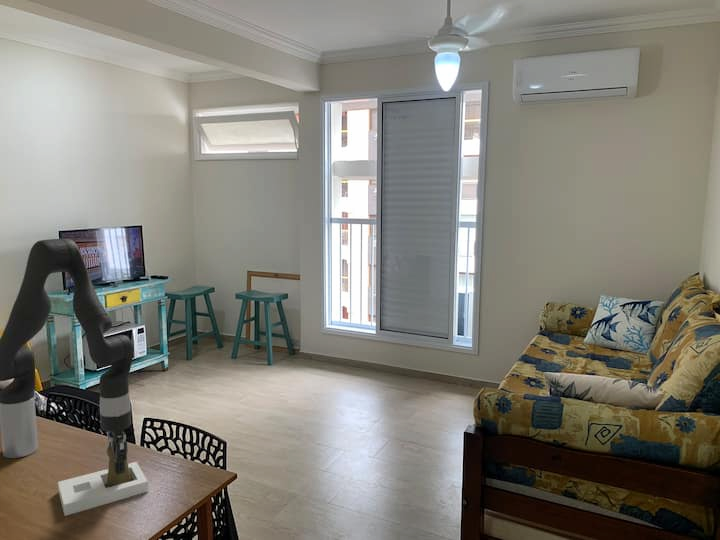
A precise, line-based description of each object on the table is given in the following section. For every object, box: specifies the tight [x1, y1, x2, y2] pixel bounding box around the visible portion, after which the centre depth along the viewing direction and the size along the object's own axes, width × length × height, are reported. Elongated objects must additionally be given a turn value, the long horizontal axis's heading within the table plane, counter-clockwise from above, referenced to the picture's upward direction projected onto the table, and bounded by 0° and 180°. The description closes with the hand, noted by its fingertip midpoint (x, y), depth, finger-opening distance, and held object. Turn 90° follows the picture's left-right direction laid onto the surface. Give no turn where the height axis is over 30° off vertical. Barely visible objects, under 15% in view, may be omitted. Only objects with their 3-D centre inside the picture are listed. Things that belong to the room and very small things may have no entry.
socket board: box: [57, 461, 149, 516], centre depth 144 cm, size 13×20×3 cm, turn 125°
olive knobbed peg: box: [106, 445, 132, 488], centre depth 145 cm, size 6×6×11 cm
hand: (118, 468), depth 145 cm, fingers closed on olive knobbed peg, 4 cm apart
